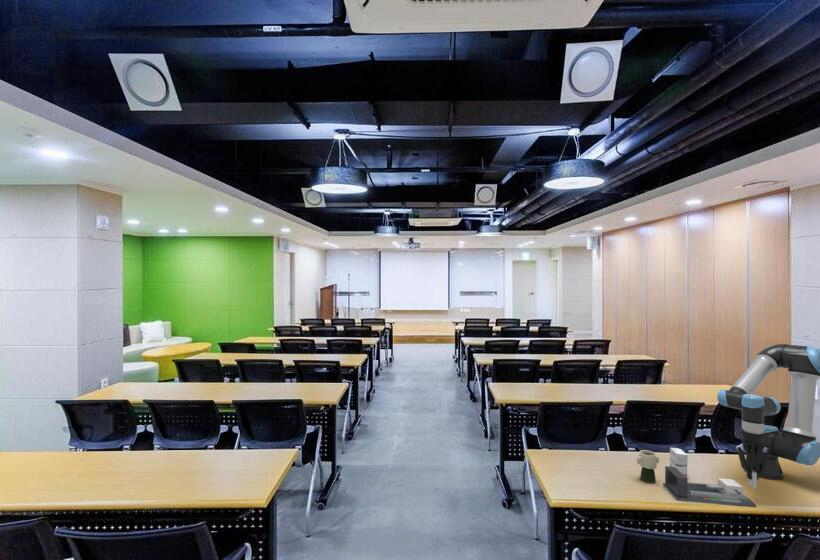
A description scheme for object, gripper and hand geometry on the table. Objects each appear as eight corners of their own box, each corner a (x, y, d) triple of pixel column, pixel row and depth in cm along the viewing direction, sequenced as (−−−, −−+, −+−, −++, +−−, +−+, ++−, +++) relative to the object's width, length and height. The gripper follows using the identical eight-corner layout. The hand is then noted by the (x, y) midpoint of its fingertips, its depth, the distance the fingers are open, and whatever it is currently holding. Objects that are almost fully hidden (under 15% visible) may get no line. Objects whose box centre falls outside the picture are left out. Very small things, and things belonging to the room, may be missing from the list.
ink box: (688, 480, 199) (688, 454, 200) (676, 478, 200) (676, 453, 201) (680, 472, 208) (680, 448, 208) (669, 471, 209) (668, 447, 209)
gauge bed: (735, 491, 188) (735, 470, 188) (756, 507, 174) (755, 484, 175) (663, 485, 193) (663, 465, 193) (677, 500, 179) (677, 478, 180)
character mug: (653, 476, 202) (653, 449, 202) (664, 483, 195) (663, 455, 195) (632, 477, 201) (632, 450, 201) (642, 484, 194) (642, 456, 194)
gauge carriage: (732, 491, 185) (732, 479, 185) (748, 503, 175) (748, 490, 175) (703, 488, 187) (702, 477, 187) (716, 500, 177) (716, 488, 177)
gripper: (763, 429, 184) (764, 484, 184) (730, 427, 186) (730, 481, 186) (775, 435, 177) (775, 492, 176) (741, 432, 179) (741, 489, 178)
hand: (752, 486), depth 181 cm, fingers closed
